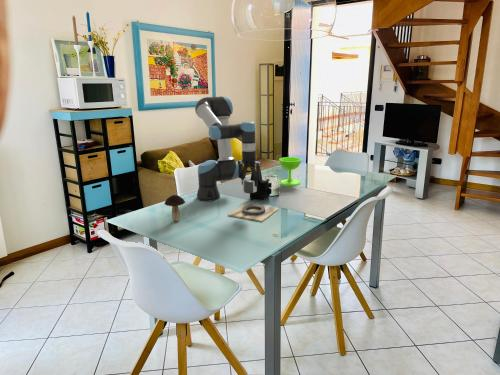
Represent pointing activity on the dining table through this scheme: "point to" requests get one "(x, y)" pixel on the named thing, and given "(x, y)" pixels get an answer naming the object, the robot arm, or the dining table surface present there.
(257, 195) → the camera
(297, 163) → the wineglass
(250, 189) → the cap
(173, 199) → the decorative mushroom
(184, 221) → the dining table surface
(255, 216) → the mount
